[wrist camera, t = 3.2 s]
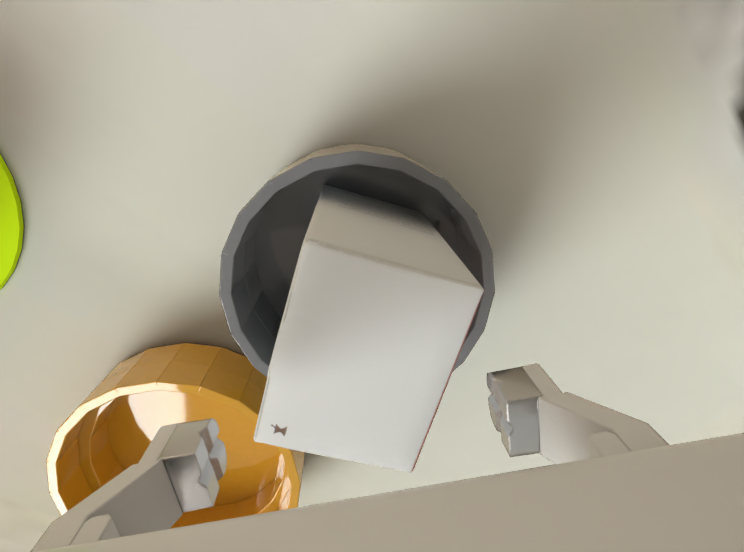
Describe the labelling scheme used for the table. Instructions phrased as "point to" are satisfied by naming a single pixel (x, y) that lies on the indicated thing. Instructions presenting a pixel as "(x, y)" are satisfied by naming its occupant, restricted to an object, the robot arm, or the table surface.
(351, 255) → the small box
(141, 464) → the robot arm
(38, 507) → the table surface
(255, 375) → the bowl
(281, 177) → the pot
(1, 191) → the toy cauldron
